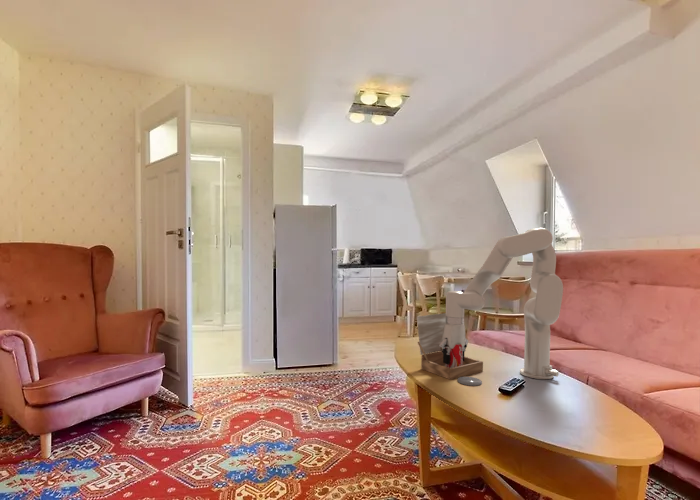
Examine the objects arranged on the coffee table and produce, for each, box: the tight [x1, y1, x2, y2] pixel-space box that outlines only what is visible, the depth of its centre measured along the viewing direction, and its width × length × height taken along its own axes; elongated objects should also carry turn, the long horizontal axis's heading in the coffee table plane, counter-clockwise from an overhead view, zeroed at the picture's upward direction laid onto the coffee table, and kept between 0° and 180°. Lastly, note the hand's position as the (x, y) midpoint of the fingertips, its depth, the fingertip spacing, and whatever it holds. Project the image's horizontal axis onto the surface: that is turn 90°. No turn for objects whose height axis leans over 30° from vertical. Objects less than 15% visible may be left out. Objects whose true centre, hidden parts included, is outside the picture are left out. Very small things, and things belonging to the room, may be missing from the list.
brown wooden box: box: [416, 312, 484, 380], centre depth 173 cm, size 19×21×22 cm
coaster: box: [457, 376, 483, 387], centre depth 158 cm, size 9×9×1 cm
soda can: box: [444, 343, 463, 368], centre depth 172 cm, size 7×7×12 cm
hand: (453, 361), depth 172 cm, fingers open, 8 cm apart
